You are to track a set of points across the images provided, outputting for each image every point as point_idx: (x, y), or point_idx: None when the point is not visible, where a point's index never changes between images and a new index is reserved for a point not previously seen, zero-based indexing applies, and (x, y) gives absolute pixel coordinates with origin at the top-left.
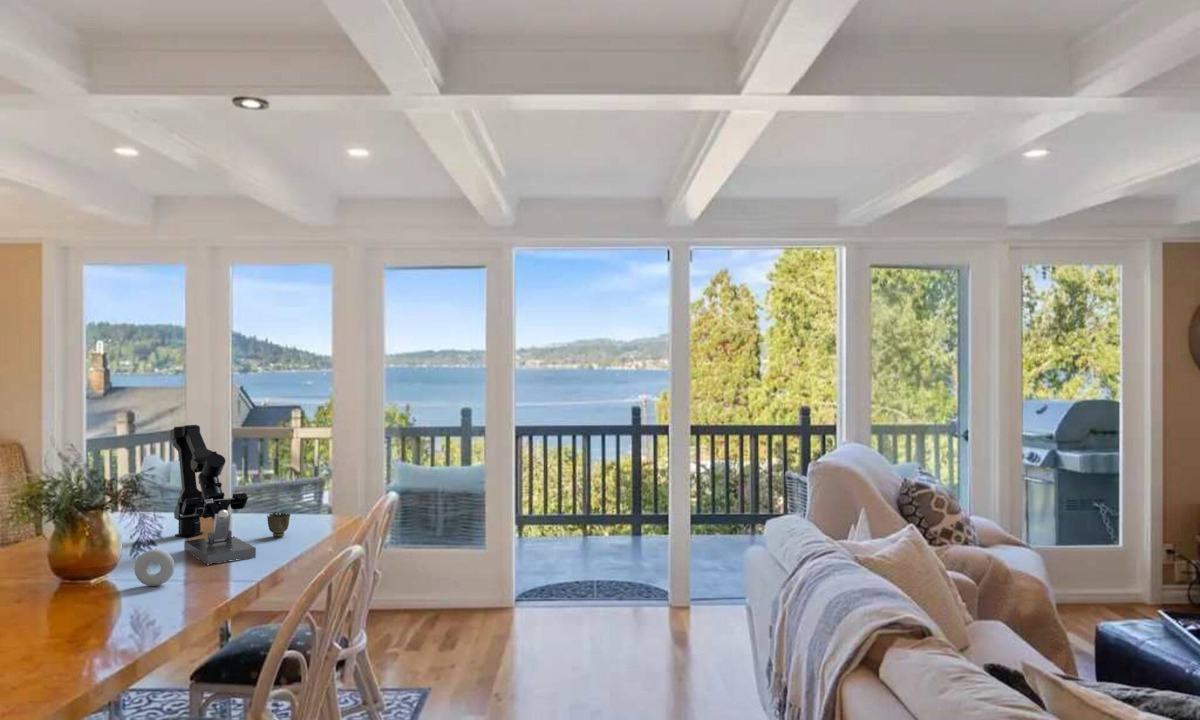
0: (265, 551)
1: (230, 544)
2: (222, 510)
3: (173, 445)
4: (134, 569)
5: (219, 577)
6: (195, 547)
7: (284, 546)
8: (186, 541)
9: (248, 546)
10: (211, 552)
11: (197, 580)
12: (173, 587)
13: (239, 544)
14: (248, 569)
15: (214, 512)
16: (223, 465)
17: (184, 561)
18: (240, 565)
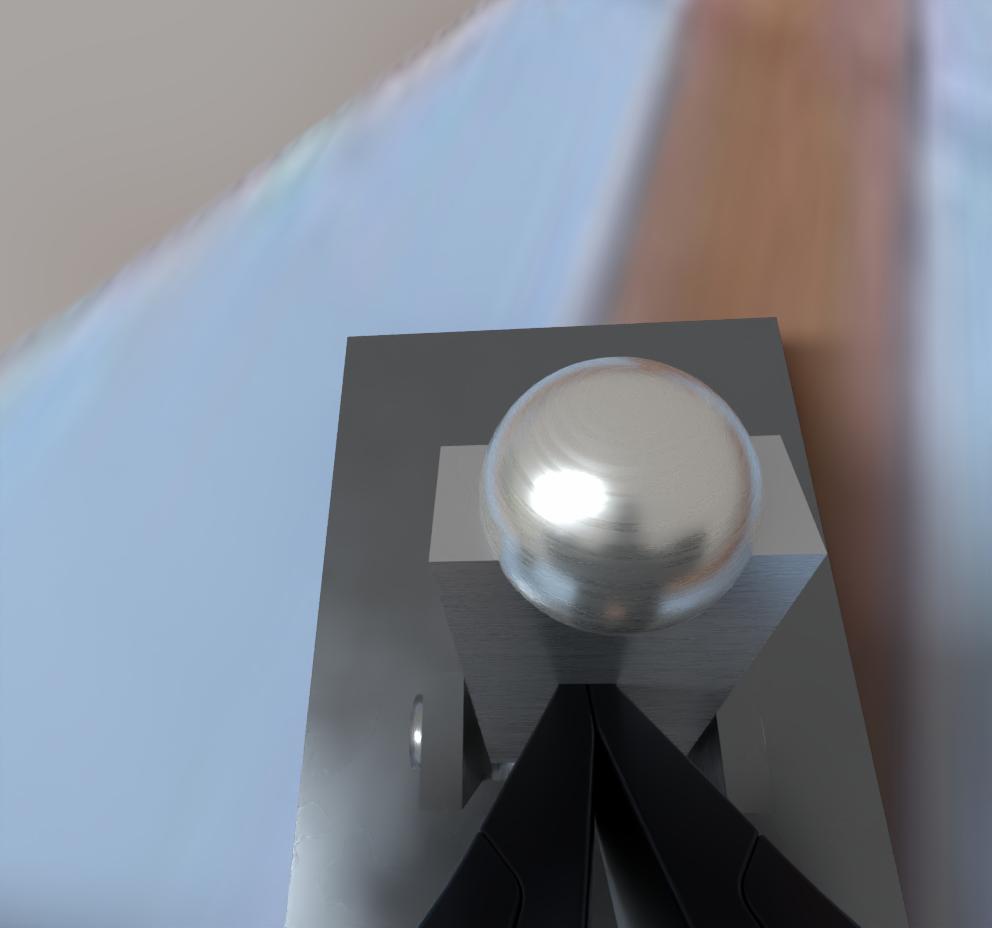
0: (224, 519)
1: None
2: (659, 383)
3: None
4: None
5: (721, 75)
6: (866, 760)
7: (15, 593)
8: None
9: (374, 418)
10: (729, 397)
11: (848, 81)
12: (986, 30)
13: (405, 559)
14: (530, 134)
15: (822, 900)
16: None
17: (925, 629)
18: (541, 238)
